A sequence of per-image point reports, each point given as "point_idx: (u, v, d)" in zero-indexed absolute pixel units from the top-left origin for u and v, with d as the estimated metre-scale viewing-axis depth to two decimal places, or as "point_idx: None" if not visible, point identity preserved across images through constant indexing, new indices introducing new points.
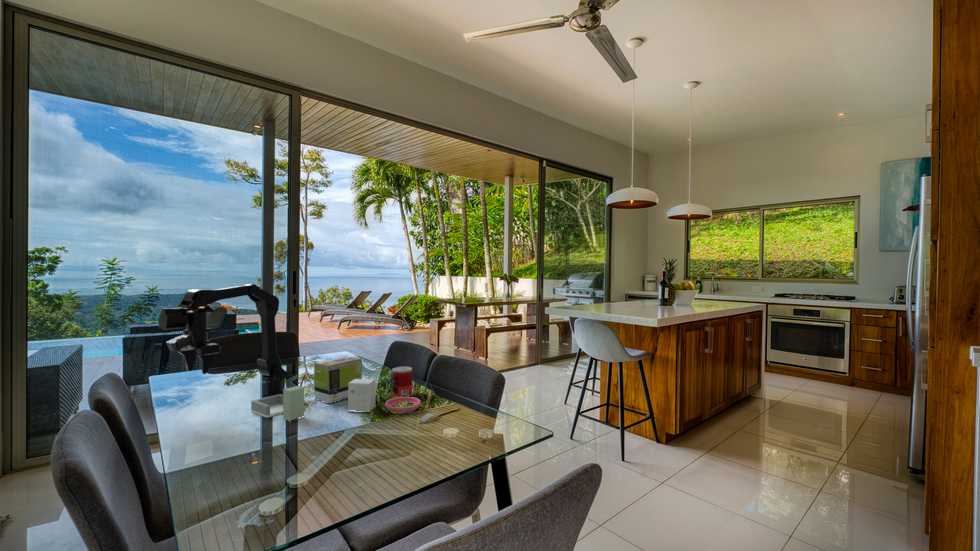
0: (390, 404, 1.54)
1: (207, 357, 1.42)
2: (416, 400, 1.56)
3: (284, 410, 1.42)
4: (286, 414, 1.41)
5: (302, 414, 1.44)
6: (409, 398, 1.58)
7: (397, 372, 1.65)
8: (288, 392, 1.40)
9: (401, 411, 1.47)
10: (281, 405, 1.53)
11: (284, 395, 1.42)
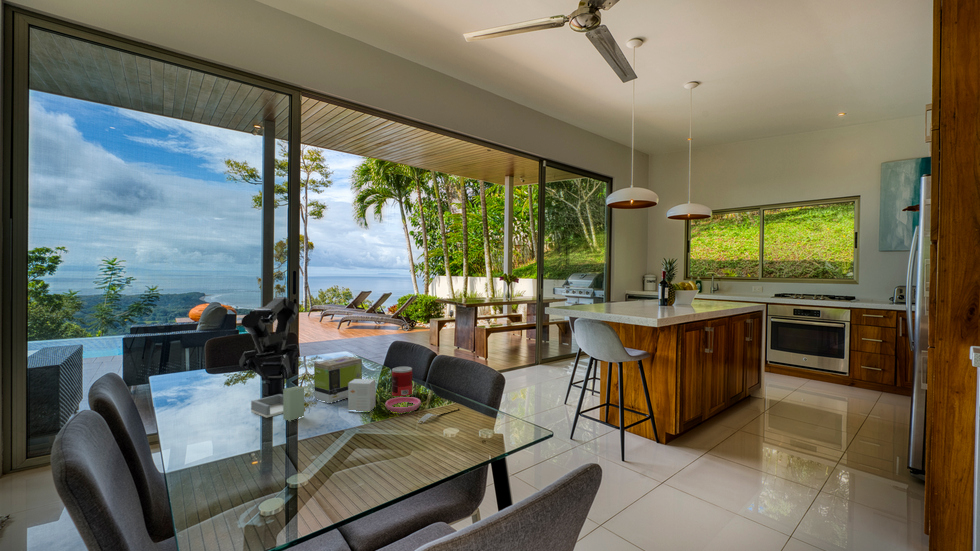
0: (390, 404, 1.54)
1: None
2: (416, 400, 1.56)
3: (284, 410, 1.42)
4: (285, 414, 1.41)
5: (302, 414, 1.44)
6: (409, 398, 1.58)
7: (397, 372, 1.65)
8: (288, 392, 1.40)
9: (401, 411, 1.47)
10: (281, 405, 1.53)
11: (284, 395, 1.42)
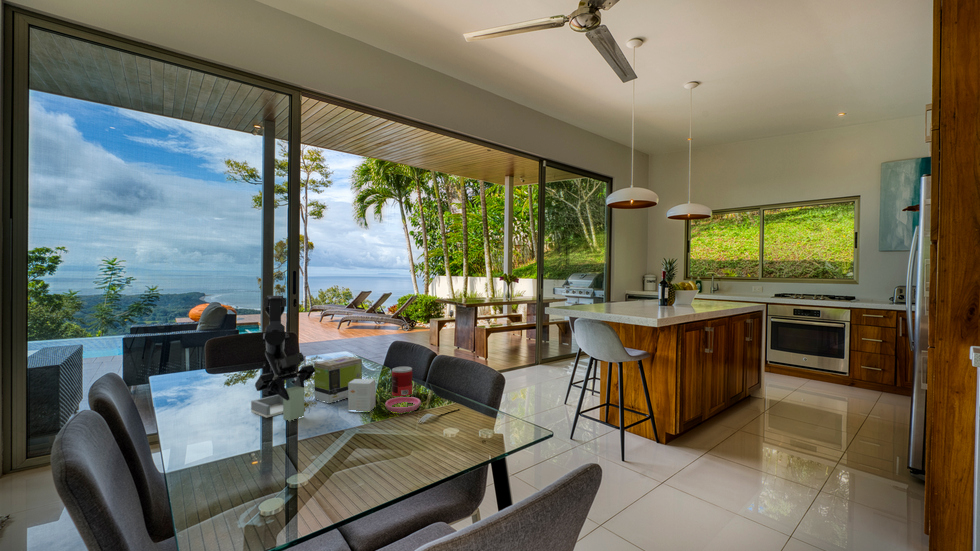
0: (390, 404, 1.54)
1: None
2: (416, 400, 1.56)
3: (284, 410, 1.42)
4: (285, 414, 1.41)
5: (302, 414, 1.43)
6: (409, 398, 1.58)
7: (397, 372, 1.65)
8: (288, 392, 1.40)
9: (401, 411, 1.47)
10: (281, 405, 1.53)
11: None
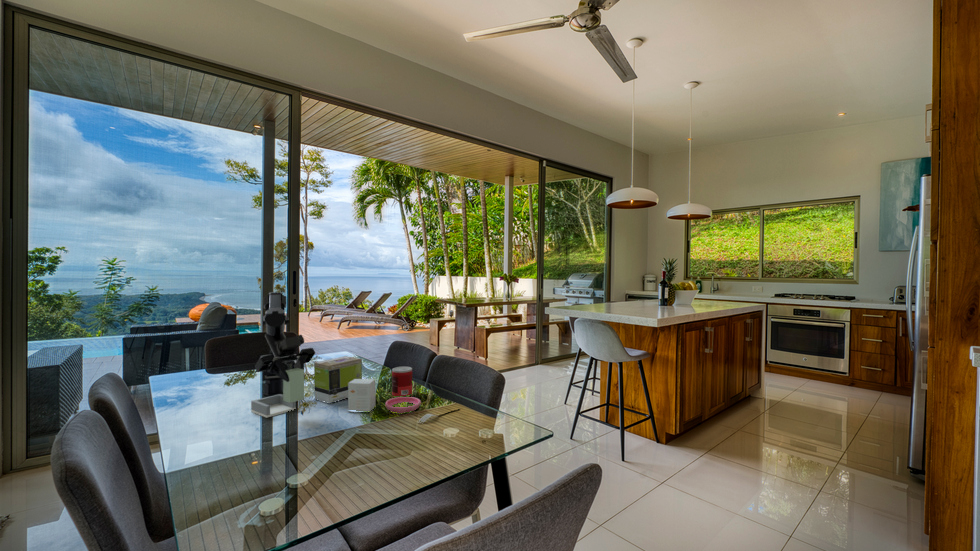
0: (390, 404, 1.54)
1: None
2: (416, 400, 1.56)
3: (284, 392, 1.42)
4: (286, 396, 1.41)
5: (302, 396, 1.43)
6: (409, 398, 1.58)
7: (397, 372, 1.65)
8: (288, 373, 1.40)
9: (401, 411, 1.47)
10: (281, 405, 1.53)
11: None
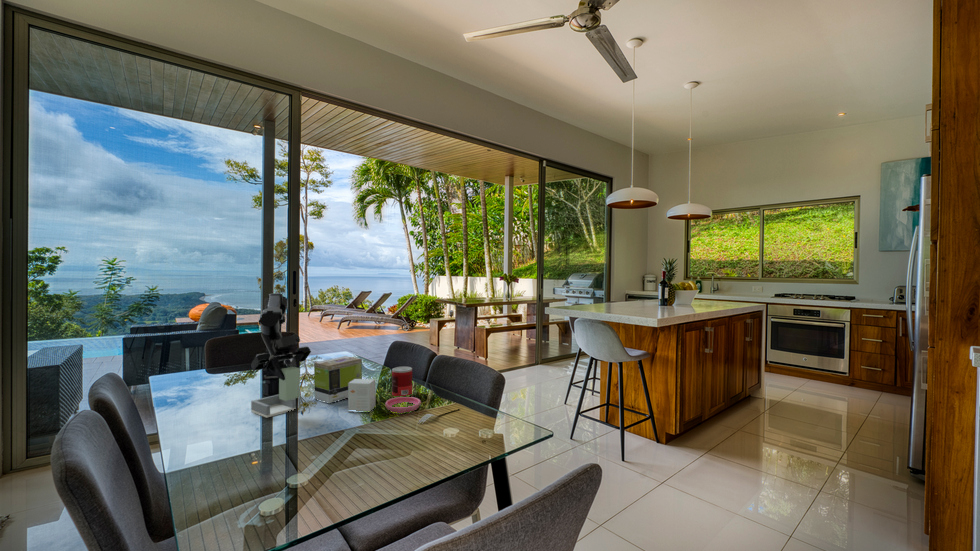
0: (390, 404, 1.54)
1: None
2: (416, 400, 1.56)
3: (280, 390, 1.43)
4: (281, 394, 1.43)
5: (298, 394, 1.45)
6: (409, 398, 1.58)
7: (397, 372, 1.65)
8: (284, 372, 1.42)
9: (401, 411, 1.47)
10: (281, 405, 1.53)
11: None
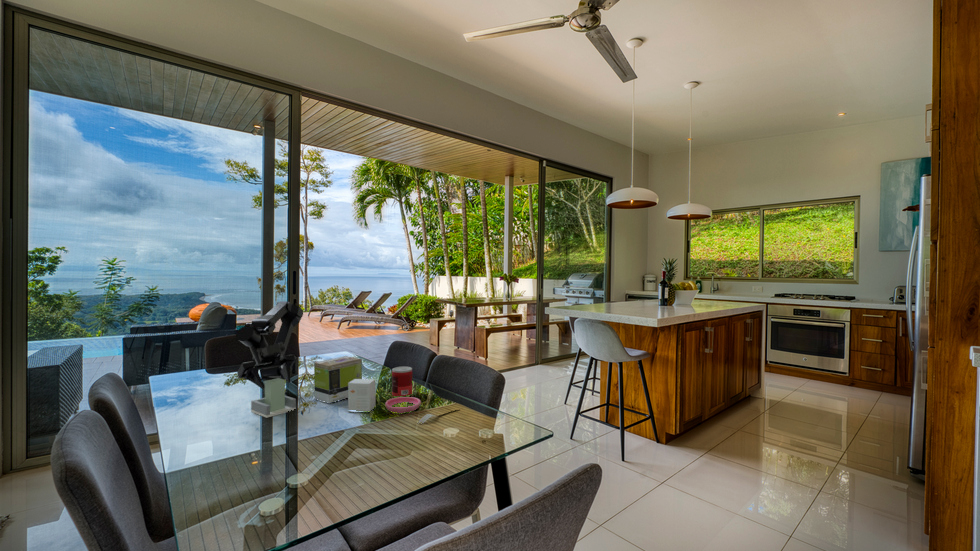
0: (390, 404, 1.54)
1: None
2: (416, 400, 1.56)
3: (265, 401, 1.49)
4: None
5: (283, 405, 1.50)
6: (409, 398, 1.58)
7: (397, 372, 1.65)
8: (269, 384, 1.47)
9: (401, 411, 1.47)
10: None
11: (265, 386, 1.48)
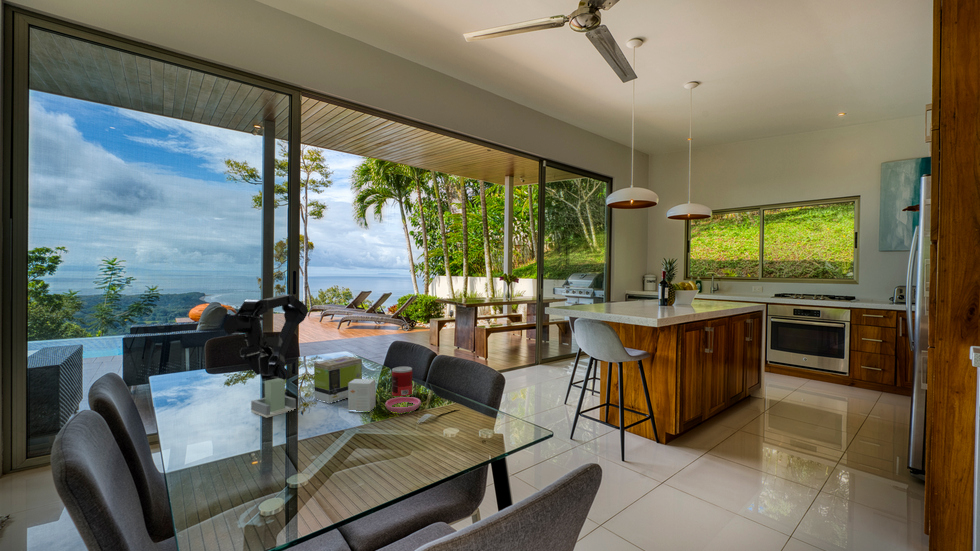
0: (390, 404, 1.54)
1: None
2: (416, 400, 1.56)
3: (265, 401, 1.49)
4: None
5: (283, 405, 1.50)
6: (409, 398, 1.58)
7: (397, 372, 1.65)
8: (269, 384, 1.47)
9: (401, 411, 1.47)
10: None
11: (265, 386, 1.48)
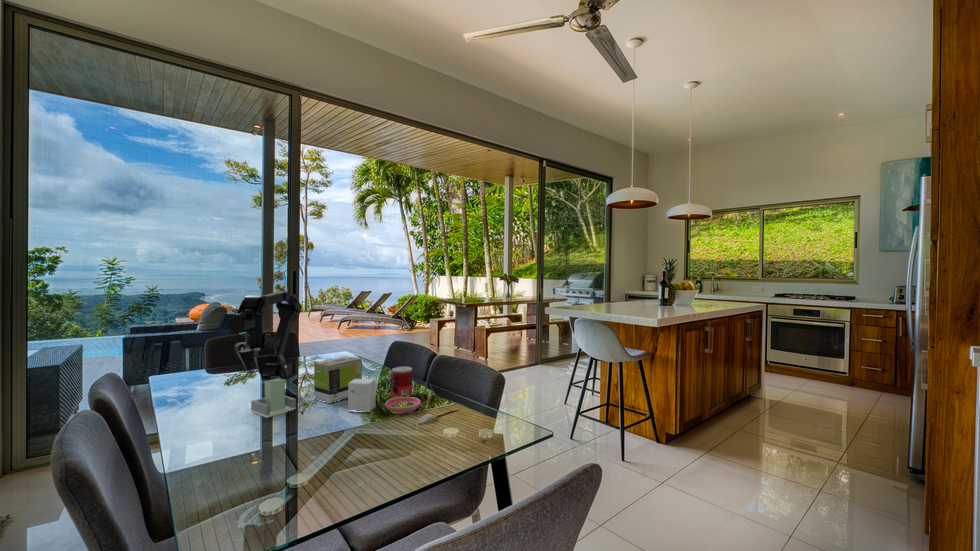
0: (390, 404, 1.54)
1: None
2: (416, 400, 1.56)
3: (265, 401, 1.49)
4: None
5: (283, 405, 1.50)
6: (409, 398, 1.58)
7: (397, 372, 1.65)
8: (269, 384, 1.47)
9: (401, 411, 1.47)
10: None
11: (265, 386, 1.48)
